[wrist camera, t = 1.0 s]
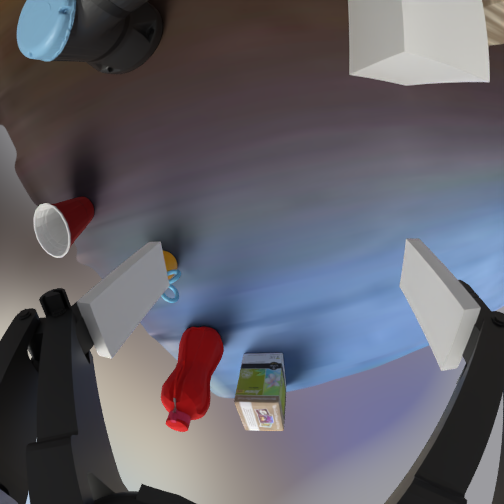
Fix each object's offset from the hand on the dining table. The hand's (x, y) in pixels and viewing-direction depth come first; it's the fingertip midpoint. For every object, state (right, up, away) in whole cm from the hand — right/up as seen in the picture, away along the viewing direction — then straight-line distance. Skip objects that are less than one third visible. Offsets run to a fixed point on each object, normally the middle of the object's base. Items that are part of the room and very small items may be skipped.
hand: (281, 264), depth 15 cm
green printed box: (+2, -30, +56) cm, 64 cm away
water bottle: (-13, -19, +52) cm, 57 cm away
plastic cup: (-37, +10, +39) cm, 55 cm away
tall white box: (+19, +35, +18) cm, 44 cm away
